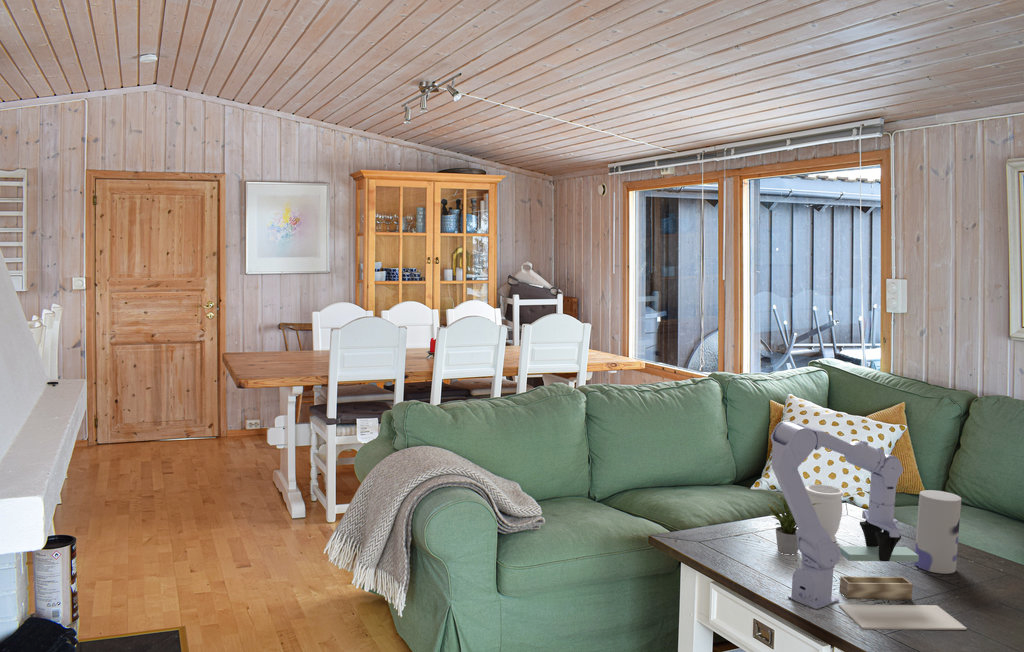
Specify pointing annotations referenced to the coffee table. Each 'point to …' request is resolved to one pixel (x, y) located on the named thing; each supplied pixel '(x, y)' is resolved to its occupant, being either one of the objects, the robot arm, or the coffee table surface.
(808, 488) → the white vase
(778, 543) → the house plant
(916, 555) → the lid
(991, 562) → the coffee table surface
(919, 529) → the container
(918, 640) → the coffee table surface
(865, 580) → the pencil box
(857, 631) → the coffee table surface
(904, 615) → the mat
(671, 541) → the coffee table surface
